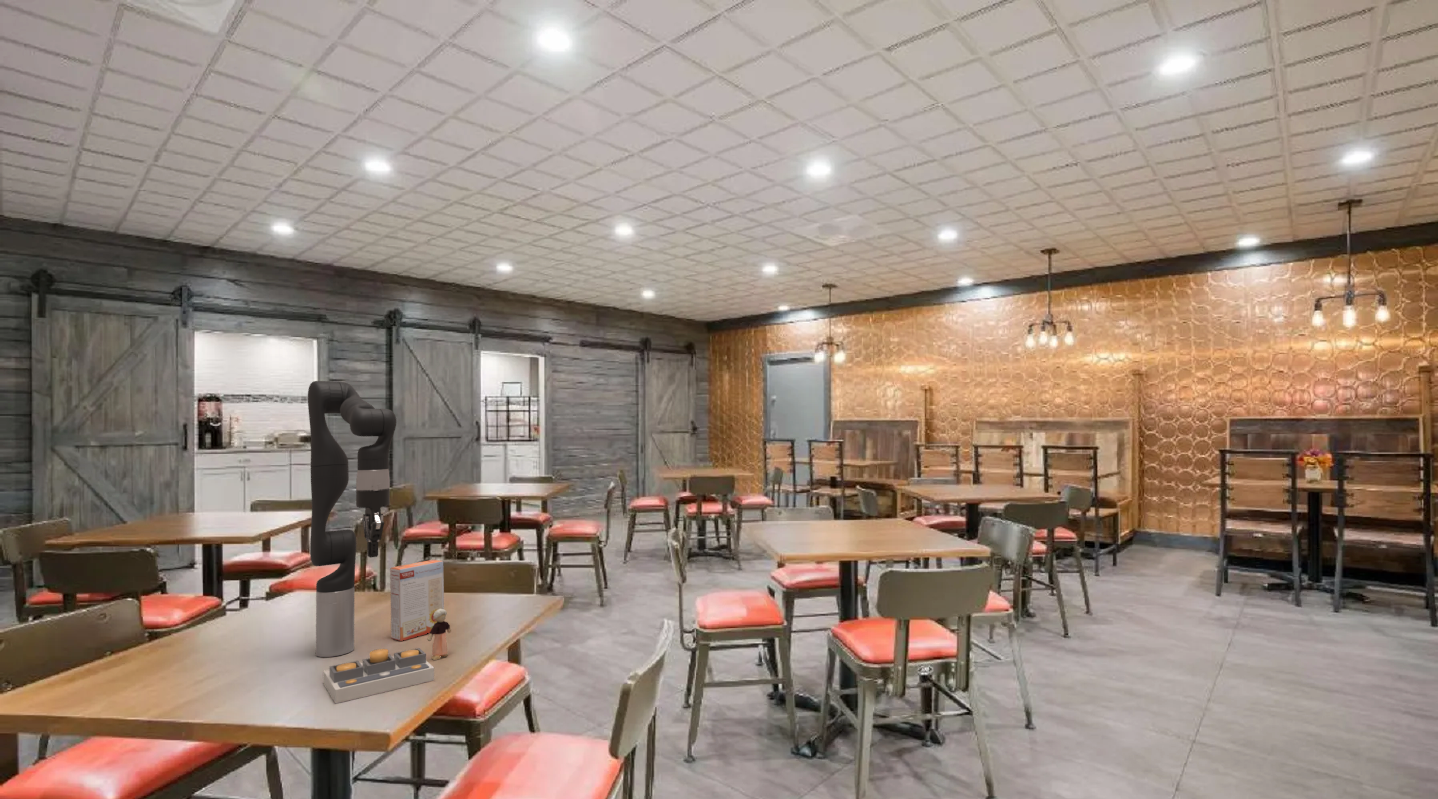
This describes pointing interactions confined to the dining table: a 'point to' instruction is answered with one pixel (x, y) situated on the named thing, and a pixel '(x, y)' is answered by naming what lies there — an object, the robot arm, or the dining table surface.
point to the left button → (346, 666)
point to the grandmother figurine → (439, 635)
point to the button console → (377, 676)
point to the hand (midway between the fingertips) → (372, 556)
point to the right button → (409, 653)
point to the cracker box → (415, 598)
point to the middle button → (378, 655)
